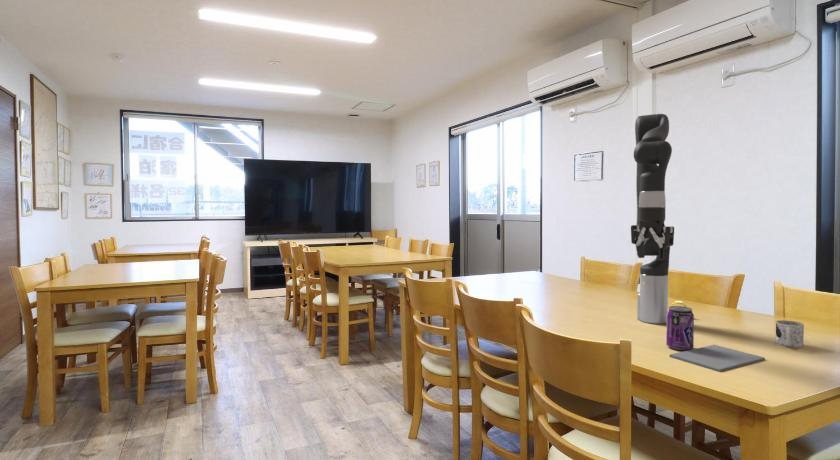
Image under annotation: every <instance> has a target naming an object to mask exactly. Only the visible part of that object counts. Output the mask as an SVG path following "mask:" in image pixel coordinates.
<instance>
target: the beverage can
mask: <svg viewBox="0 0 840 460" xmlns="http://www.w3.org/2000/svg"><path fill="white" fill-rule="evenodd" d="M694 319H695V315H694V313H693V308H691V307H689V306H687V307H685V306H684V305H682V306H681V305H673V306H671V305H670V306H668V312H667V323H666V337H665V338H666V342H665V343H666V346H668V347H669V348H671V349H672V350H677V351H688V350H692V349H694V346H695V345H694V344H695V343H694V331H695V330H694V329H695V327H694V326H695V325H694V324H695V323H694V322H695V321H694Z"/></svg>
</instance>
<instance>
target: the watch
mask: <svg viewBox="0 0 840 460" xmlns="http://www.w3.org/2000/svg"><path fill="white" fill-rule="evenodd" d="M675 304H676V305H682V306H683V307H688V306H687V305H686V304H685V303H684V302H683V301H681V300H675V301H674V302H673V303H671V304H670V306H674V305H675Z"/></svg>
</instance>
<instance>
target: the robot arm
mask: <svg viewBox="0 0 840 460" xmlns="http://www.w3.org/2000/svg"><path fill="white" fill-rule="evenodd" d="M634 123H635V124H634V132H635V133H634V135H635V147H634V150H633V159H634V161H635V163H636V180H635V181H636V183H635V184H636V207H637V209H636V210H637V211H636V224H635V225H634V224H633V225H631V226H630V238H631V239H630V240H631V242H630V243H631V244H633V245H635V250H636V255H637V258H638V259H644V258H645V256H647V257H648V256H649V257H655V256H656V257H655V259H654V260H652V261H651V262H649V263H645V264H644V265H641V266H640V267H639V293H637V302H636V303H637V307H636V309H637V315H636V316H637V317H636V319H637V320H639V321H641V322H644V323H647V324H658V325H659V324H660V325H661V324H667V312H668V310H669V267H670V255H671V254H670V252H671V247H673V246H674V239H675V238H674V237H675V227H674V226H666V225H665V221H666V191H665V190H666V188H665V187H666V183H665V182H666V173H667V169H668V165H669V162H670V160H671V156H672V152H673V151H672V150H673V149H672V145H671V143H670V142H668V141H667V138H668V136H669V132H670V120H669V117H668V115H666V113H657V114H656V113H654V114H644V115H639V116H637V117H636V119H635V122H634Z"/></svg>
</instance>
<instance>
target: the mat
mask: <svg viewBox="0 0 840 460" xmlns="http://www.w3.org/2000/svg"><path fill="white" fill-rule="evenodd" d="M669 357H670V358H673V359H675V360H680V361H683V362H685V363H688V364H693V365H696V366H699V367H702V368H705V367H706V368H705V369H709V370H713V371H716V372H719V373H720V372H723V371H724V372H725V371H727V370H732V369H735V368H738V367H743V366H746V365H749V364H753V363H758V362H761V361H765V360H766V359H765V357H764V356H760V355H757V354H754V353H753V354H752V353H748V352H745V351H740V350H737V349H733V348H729V347H725V346H721V345H718V344H711V345H706V346H702V347H698V348H691V349H689V350H682V351H680V352H676V353H670V354H669Z"/></svg>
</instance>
